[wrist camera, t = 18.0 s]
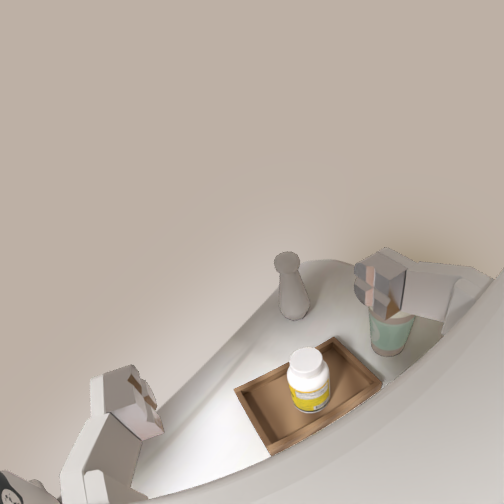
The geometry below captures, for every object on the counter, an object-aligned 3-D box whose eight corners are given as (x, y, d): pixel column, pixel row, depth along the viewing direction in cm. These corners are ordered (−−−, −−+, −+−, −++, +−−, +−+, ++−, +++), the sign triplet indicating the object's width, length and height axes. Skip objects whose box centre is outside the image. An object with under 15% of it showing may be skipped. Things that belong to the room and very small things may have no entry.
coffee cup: (373, 320, 47) (377, 265, 42) (417, 332, 42) (428, 275, 36) (354, 354, 42) (356, 298, 36) (402, 369, 37) (416, 313, 31)
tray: (271, 456, 30) (268, 451, 29) (236, 395, 40) (233, 389, 40) (380, 389, 35) (382, 382, 34) (334, 344, 45) (333, 336, 44)
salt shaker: (302, 299, 57) (293, 243, 51) (316, 315, 52) (309, 256, 46) (276, 311, 56) (263, 254, 50) (288, 328, 51) (277, 269, 45)
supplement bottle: (297, 382, 40) (289, 340, 35) (332, 385, 38) (331, 342, 33) (288, 412, 36) (278, 374, 31) (326, 416, 34) (325, 378, 29)
